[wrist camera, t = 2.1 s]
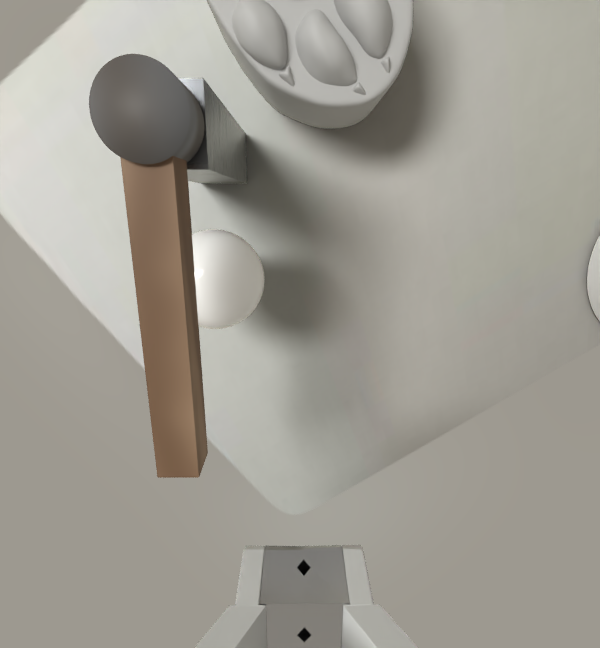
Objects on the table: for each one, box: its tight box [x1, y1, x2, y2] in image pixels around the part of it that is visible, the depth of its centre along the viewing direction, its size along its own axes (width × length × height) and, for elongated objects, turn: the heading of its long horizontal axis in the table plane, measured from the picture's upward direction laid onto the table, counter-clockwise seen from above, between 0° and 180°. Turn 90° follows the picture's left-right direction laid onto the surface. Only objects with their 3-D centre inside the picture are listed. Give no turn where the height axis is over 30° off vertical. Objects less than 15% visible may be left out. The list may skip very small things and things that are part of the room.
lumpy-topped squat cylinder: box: [207, 0, 413, 129], centre depth 25 cm, size 10×13×9 cm
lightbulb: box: [192, 229, 265, 329], centre depth 28 cm, size 6×6×11 cm
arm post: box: [178, 78, 247, 184], centre depth 24 cm, size 4×4×14 cm
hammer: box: [89, 54, 208, 477], centre depth 18 cm, size 4×18×3 cm, turn 0°
